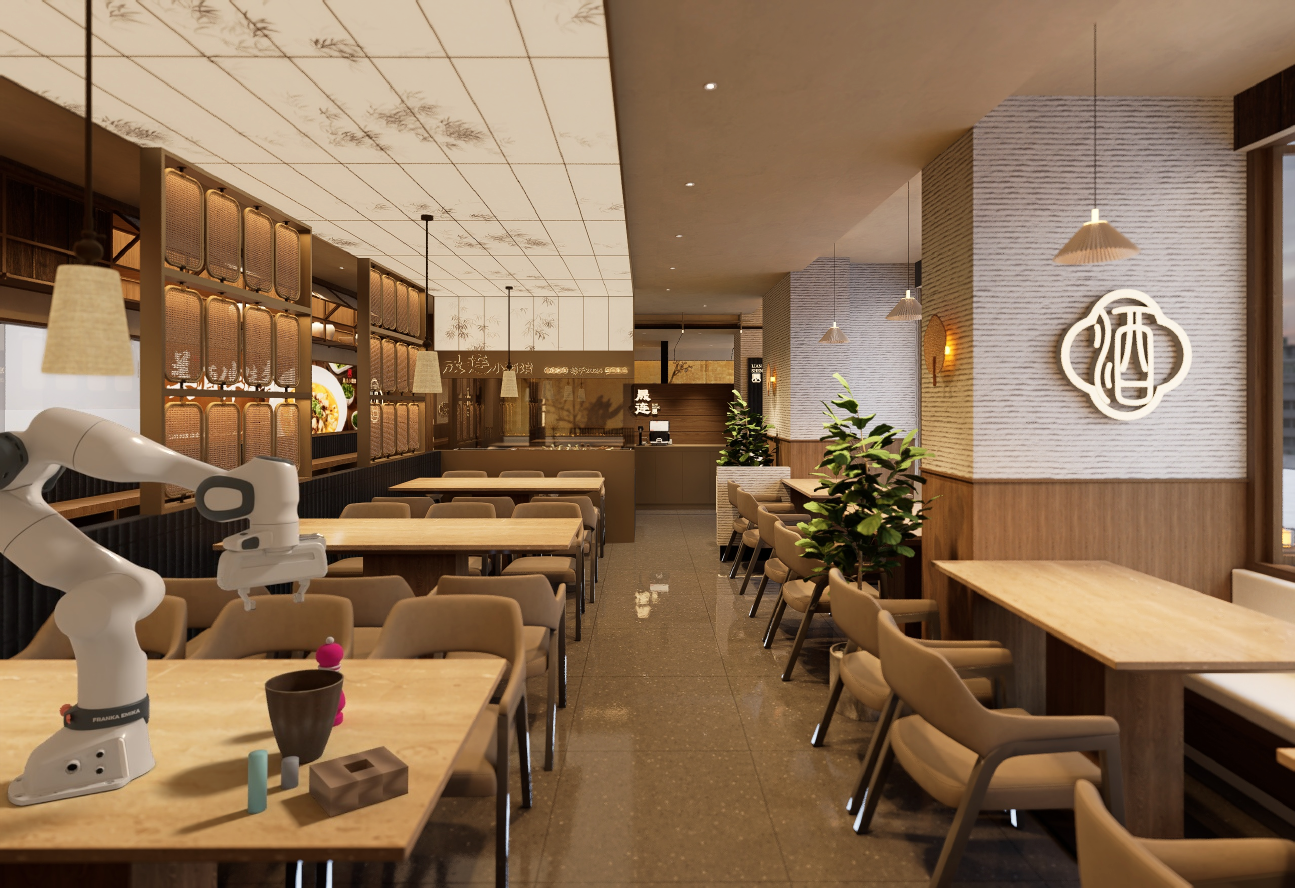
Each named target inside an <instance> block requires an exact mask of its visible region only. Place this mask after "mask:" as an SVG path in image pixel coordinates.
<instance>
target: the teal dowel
mask: <svg viewBox="0 0 1295 888" xmlns="http://www.w3.org/2000/svg"><path fill="white" fill-rule="evenodd" d="M247 770H248V771H247V813H248V814H251V815H252V814H253V815H254V814H260V813H263V812H265V811H266V810H267V808H268V750H267V749H256V750H255V749H254V750H252V751H250V752H249V753H248V766H247Z"/></svg>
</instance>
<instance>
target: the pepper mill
mask: <svg viewBox="0 0 1295 888" xmlns="http://www.w3.org/2000/svg"><path fill="white" fill-rule="evenodd" d="M344 654H345V653H344V648H343V647H342V646H341V645H340V644H339V643H336V642H335V638H334V637H332V636H327V638H326V639H325V643H324V644H322V645H320V646H319V647H318V648H317V649H316V652H315V661H316V663H318V665H317V669H327V670H334V671H338V672H340V671H341V670H342V664H341V663H340V662H341V661H342V659H343V658H344V656H345V655H344ZM345 707H346V696H345V693H344V691H343V689H342V692H341V697H340V702H339V706H338V710H337V714H336V718H335V721H334V724H333V727H337V726H338V725H340V724H342V723H343V722H344V713H343V712H342V711H343V710H344V709H345Z"/></svg>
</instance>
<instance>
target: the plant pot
mask: <svg viewBox="0 0 1295 888" xmlns="http://www.w3.org/2000/svg"><path fill="white" fill-rule="evenodd" d="M344 679H345V675H344V674H343V673H342V672H340V671H339V672H338V671H334V670H327V669H318V668H311V669H301V670H293V671H289V672H284V673H281V674H278V675H276V676H273V677H271V678H270V679H268V680H267V681H265V683H264V691H265V697H266V698H265V699H266V705H267V711H268V716H269V722H270V725H271V728H272V732H273V735H274V738H275V742H276V744H277V747H278V750H279V752H280V756H281V757H282V759H284V758H286V757H290V756H296V757H299V765H300V764H302V765H303V764H306V763H307V764H308V763H310V762H313V761H317V760H319V758H322V755H323V754H324V751H325V749H326V746H327V745H328V741H329V738H330V736H331V733H332V730H333V728H334V726H333V724H334V721H335V718H336V714H337V710H338V706H339V702H340V697H341V692H342V690H343V687H344Z"/></svg>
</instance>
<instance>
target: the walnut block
mask: <svg viewBox="0 0 1295 888" xmlns="http://www.w3.org/2000/svg"><path fill="white" fill-rule="evenodd" d="M308 768H309V769H308V771H309V772H308V775H309V777H308V793H309V794H310V795H311V796H312V797H313V799H314V800H315V801H316V802H317V803H318V805H320V807H321V808H322V810H324V811H325V812H326V814H327V815H328V816H329V817H330V818H332V817H336V816H339V815H343V814H345V813H348V812H351V811H354V810H358V809H361V808H364V807H369V806H371V805H374V804H378V803H380V802H381V803H382V802H383V801H387V800H390V799H393V798H397V797H400V796H403V795H406V794H408V793H409V765H407V763H405V762H404V761H403V760H401V759H400V758H399V757H398V756H397V755H395V754H394V753H393V752H392V751H390V750H389V749H388V748H387V747H385V745H382V746H379V747H375V748H370V749H368V750H363V751H359V752H355V753H351V754H348V755H344V756H340V757H337V758H333V759H328V760H324V761H321V762H318V763H316V762H315V763H314V764H310V765H309V766H308Z"/></svg>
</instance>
